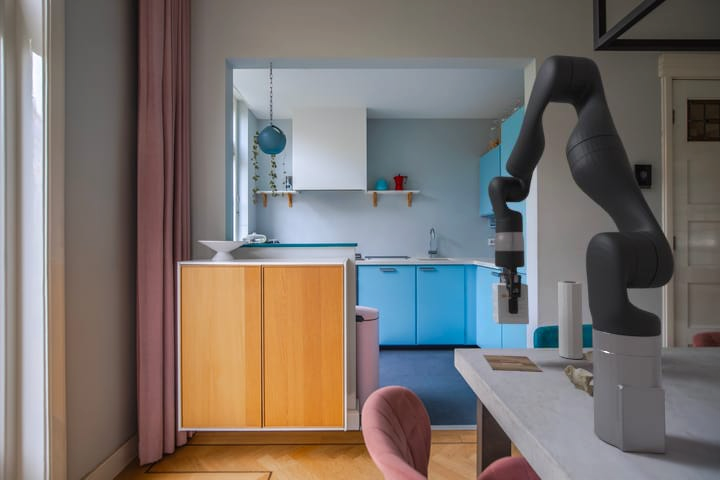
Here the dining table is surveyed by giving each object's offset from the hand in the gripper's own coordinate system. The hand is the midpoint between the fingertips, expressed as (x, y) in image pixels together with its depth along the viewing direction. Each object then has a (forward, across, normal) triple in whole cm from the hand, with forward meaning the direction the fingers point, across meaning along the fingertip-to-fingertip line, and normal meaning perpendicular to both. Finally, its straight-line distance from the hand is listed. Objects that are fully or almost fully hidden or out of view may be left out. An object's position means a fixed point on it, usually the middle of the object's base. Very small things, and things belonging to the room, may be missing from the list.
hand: (510, 311), depth 106 cm
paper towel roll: (+14, +9, -19) cm, 25 cm away
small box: (+3, 0, 0) cm, 3 cm away
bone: (+14, -20, -11) cm, 27 cm away
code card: (+14, 0, 0) cm, 14 cm away
